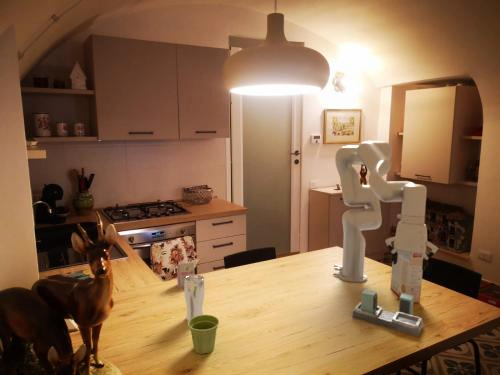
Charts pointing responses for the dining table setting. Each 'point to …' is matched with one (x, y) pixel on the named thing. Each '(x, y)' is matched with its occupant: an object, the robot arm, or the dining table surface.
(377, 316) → the grey compartment tray
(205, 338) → the plant pot
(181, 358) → the dining table surface
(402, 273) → the cracker box
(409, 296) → the pale teal block
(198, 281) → the beer glass
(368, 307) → the teal rectangular block
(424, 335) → the dining table surface
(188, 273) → the tea bag
